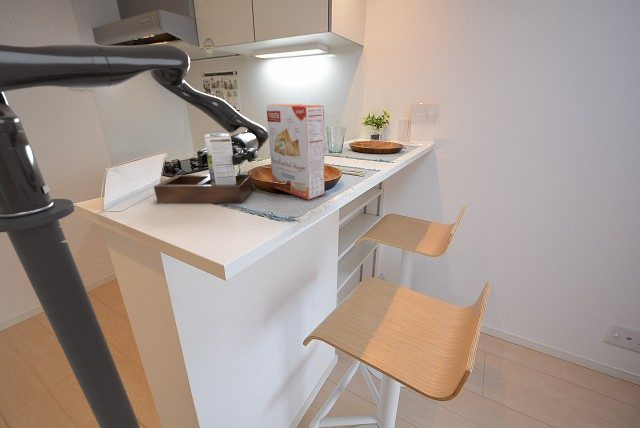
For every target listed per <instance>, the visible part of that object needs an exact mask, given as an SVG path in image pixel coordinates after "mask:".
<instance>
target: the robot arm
mask: <svg viewBox="0 0 640 428" xmlns="http://www.w3.org/2000/svg"><path fill="white" fill-rule="evenodd" d="M190 63H191V60H190V57H189V55H188V54H187V52H186V51H184V50H183V49H182V48H181V47H178V46H176V45H173V44H169V43H152V44H141V45H139V44H137V45H104V44H103V45H102V44H101V45H100V44H83V43H82V44H81V43H75V44H74V43H70V44H69V43H67V44H61V43H60V44H47V45H37V46H36V45H35V46H24V45H23V46H22V45H21V46H20V45H12V44H11V45H9V44H1V43H0V218H2V219H9V218H19V217H25V216H30V215H34V214H38V213H41V212H44V211H47V210H49V209H51V208H53V207H54V203H53V201H52V200H51V199H52V197H51V195H50V191H51V189H50V186H49V184H48V183H47V184H46V182H45V179H44V177H43V174H42V171H41V168H40V166H39V164H38V161H37V159H36V156H35V154H34V151H33V149H32V146H31V144H30V142H29V138H28V136H27V134H26V131H25V129H24V126H23V123H22V121H21V119H20V117H18V115H16V113H15V112H14V111H13V109H12V108H11V106H10V105H9V102H8V100H7V98H6V95H5V92H12V91H16V90H22V89H23V90H24V89H30V88H31V89H32V88H41V87H55V88H56V87H58V88H67V89H68V88H69V89H95V88H110V87H115V86H118V85H122V84H124V83H126V82H128V81H130V80H131V79H134V78H135V77H137V76H139V75H141V74H144V73H146V72H149V74H150V76H151V78H152V79H153V80H154V81H155V82H156V83H158V84H159V85H160V86H161V87H163V88H164V89H166V90H167V91H169V92H170V93H171V94H173V95H175V96H177V97H178V98H180V99H181V100H184V102H186V103H187V104H189V105H191V106H193V107H195V108H196V109H198V110H199V111H201V112H202V113H204V114H205V115H206V116H208V117H209V118H210V119H212V120H213V121H214V122H215V123H216V124H217V125H219V126H220V127H221V128H222V129H223V130H224V131H226V133H228V134H233V135H230V137H231V142H234V143H232V150H233V155H232V162H233V165H234V166H237V165H242V164H243V163H245V162H246V161H247V162H248V163H251V162H253V161H255V160H256V159H258V152H259V151H260V150H261V149H262V148H263V146H264V145H265V144H266V143H267V141H269V131H268V129H266V128H265V127H264V126H263V125H260V124H259V123H256V122H255V121H253V120H250V119H249V118H247V117H245V116H243V115H242V114H240V112H238V111H237V109H235V108H233V107H232V105H230V104H229V103H228V102H227V101H225V100H224V99H222V98H219V97H217V96H214V95H211V94H206V93H203V92H200V91H198V90H196V89H194V88H193V87H192V86H190V85H189V84H188V83H187V82H186V81H185V78H186V76H187V74H188V72H189V69H190ZM240 128H244V129H246V131H243V132H240V133H236V132H237V131H239V129H240ZM234 133H236V134H234ZM238 143H239V144H238ZM196 154H197V163H198V164H199V165H200V166H204V165H206V164H208V161H207V153H206V147H204V148H201V149H199V150H196Z"/></svg>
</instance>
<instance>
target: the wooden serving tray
mask: <svg viewBox="0 0 640 428" xmlns="http://www.w3.org/2000/svg"><path fill="white" fill-rule="evenodd" d="M235 176H236V184H235V185H211V180H210V174H176V175H174V176H171V177H170V178H168V179H166V180H164V181H162V182H160V183H158V184H156V185H154V186H153V189H154V194H155V198H156V202H157V203H158V204H242V203H243V202H244V201H245V199H246V198H247V197H248V196H249V194H250V193H251V192H252V191H253V190H254V188H253V178H252V174H235Z"/></svg>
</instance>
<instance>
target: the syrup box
mask: <svg viewBox="0 0 640 428" xmlns="http://www.w3.org/2000/svg"><path fill="white" fill-rule="evenodd" d="M230 136H231V135H230V133H224V132H217V133H215V132H214V133H207V134H206V133H205V134H204V145H205V148H206V153H207V161H208V163H207V166H208V173H209V174H208V175H210V180H211V185H235V184H236V176H235V175H236V169H235V168H236V167H235V165H233V162H232V155H233V150H232V143H231V137H230Z"/></svg>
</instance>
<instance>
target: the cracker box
mask: <svg viewBox="0 0 640 428" xmlns="http://www.w3.org/2000/svg"><path fill="white" fill-rule="evenodd" d="M265 107H266V118H267V132H268V135H269V138H268V143H269V152H270V153H269V154H270V165H271V179H272V183H273V182H278V183H285V184H290V191H289V190H286V189H283V188H280V187H273V186H272V188H273V189H276V190H279V191H281V192H285V193H287V194H289V195H293V196H296V197H298V198H302V199H305V200H308V201H310V200H312V199H315V198H318V197H321V196H324V195H325V194H326V193H325V191H326V189H325V187H326V186H325V183H326V182H325V108H324V107H325V106H324V105H321V104H303V103H278V104H277V103H274V104H267V105H266V106H265Z"/></svg>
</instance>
